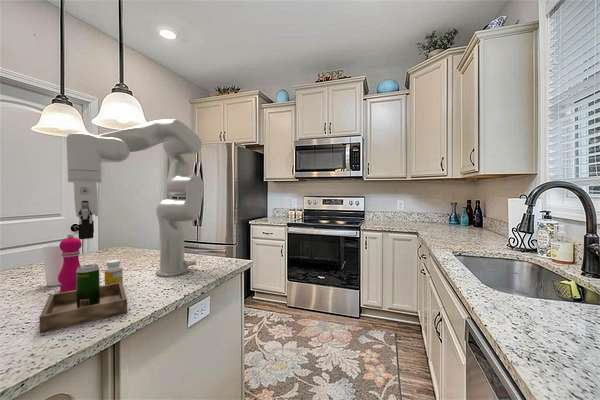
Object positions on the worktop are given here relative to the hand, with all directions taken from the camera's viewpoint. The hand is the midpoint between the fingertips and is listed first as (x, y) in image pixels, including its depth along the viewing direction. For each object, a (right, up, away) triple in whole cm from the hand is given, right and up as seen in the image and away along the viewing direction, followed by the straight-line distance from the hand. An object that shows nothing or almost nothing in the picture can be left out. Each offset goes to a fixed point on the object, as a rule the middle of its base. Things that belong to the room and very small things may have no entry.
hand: (86, 236), depth 78 cm
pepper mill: (-19, -21, +17) cm, 34 cm away
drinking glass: (-29, -21, +22) cm, 42 cm away
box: (0, -22, 0) cm, 22 cm away
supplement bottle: (-5, -21, +19) cm, 29 cm away
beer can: (0, -21, +1) cm, 21 cm away
